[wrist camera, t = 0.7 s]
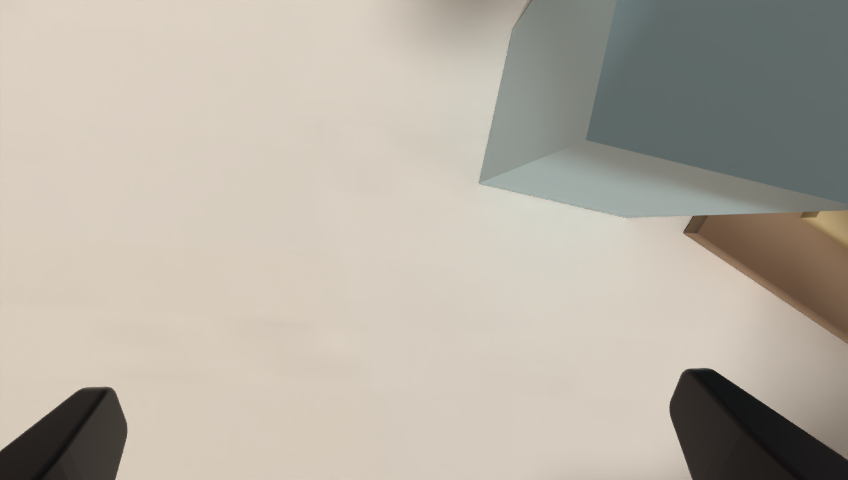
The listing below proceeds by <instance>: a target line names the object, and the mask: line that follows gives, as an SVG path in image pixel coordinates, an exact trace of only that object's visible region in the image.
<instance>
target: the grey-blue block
mask: <svg viewBox="0 0 848 480" xmlns="http://www.w3.org/2000/svg"><path fill="white" fill-rule="evenodd" d="M479 184H483V185H487V186H491V187H496V188H500V189H504V190H508V191H513V192H517V193H521V194H526V195H530V196H534V197H539V198H543V199H547V200H552V201H556V202H560V203H564V204H569V205H573V206H577V207H582V208H586V209H590V210H595V211H599V212H603V213H608V214H612V215H616V216H620V217H625V218H639V217H668V216H698V215H727V214H756V213H786V212H815V211H844V210H848V0H533V1H532V2H531V3H530V5H529V6H528V8H527V9H526V10H525V12H524V13H523V15H522V16H521V18H520V19H519V20H518V22H517V23H516V25H515V26H514V27H513V29H512V34H511V38H510V43H509V47H508V52H507V56H506V61H505V66H504V70H503V75H502V79H501V84H500V88H499V93H498V97H497V102H496V107H495V111H494V116H493V120H492V125H491V129H490V134H489V138H488V143H487V147H486V152H485V157H484V161H483V166H482V170H481V175H480V179H479Z"/></svg>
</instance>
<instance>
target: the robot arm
mask: <svg viewBox="0 0 848 480" xmlns="http://www.w3.org/2000/svg"><path fill="white" fill-rule="evenodd" d="M669 408H670V416H671V420H672V422H673V425H674V428H675V431H676V434H677V437H678V440H679V442H680V445H681V448H682V451H683V454H684V457H685V460H686V462H687V465H688V468H689V471H690V474H691V477H692V480H848V460H847V459H845V458H844V457H843V456H841V455H840V454H838V453H837V452H835V451H834V450H832V449H831V448H829V447H828V446H826V445H825V444H823V443H822V442H820V441H819V440H817V439H816V438H814V437H813V436H811V435H810V434H808V433H807V432H805V431H804V430H802V429H801V428H799V427H798V426H796V425H795V424H793V423H792V422H790V421H789V420H787V419H786V418H784V417H783V416H781V415H780V414H778V413H777V412H775V411H774V410H772V409H771V408H769V407H768V406H766V405H765V404H763V403H762V402H761V401H759V400H758V399H756V398H755V397H753V396H752V395H750V394H749V393H747V392H746V391H744V390H743V389H741V388H740V387H738V386H737V385H735V384H734V383H732V382H731V381H729V380H728V379H726V378H725V377H723V376H722V375H720V374H719V373H717V372H716V371H714V370H712V369H708V368H698V369H686V370H685V371H684V372H683V373H682V374H681V377H680V379H679V381H678V384H677V386H676V389H675V391H674V394H673V396H672V398H671V401H670V407H669ZM126 438H127V422H126V419H125V416H124V414H123V411H122V408H121V406H120V403H119V400H118V397H117V395H116V393H115V391H114V390H113V389H112V388H110V387H88V388H82V389H80V390H78V391H77V392H75V393H74V394H73V395H72V396H70V397H69V398H68V399H66V400H65V401H64V402H63V403H61V404H60V405H59V406H57V407H56V408H55V409H54V410H52V411H51V412H50V413H48V414H47V415H46V416H45V417H43V418H42V419H41V420H39V421H38V422H37V423H36V424H34V425H33V426H32V427H30V428H29V429H28V430H27V431H25V432H24V433H23V434H22V435H20V436H19V437H18V438H16V439H15V440H14V441H13V442H11V443H10V444H9V445H7V446H6V447H5V448H4V449H2V450H1V451H0V480H115V479H116V475H117V471H118V468H119V464H120V460H121V457H122V453H123V449H124V446H125V442H126Z"/></svg>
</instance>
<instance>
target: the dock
mask: <svg viewBox="0 0 848 480" xmlns="http://www.w3.org/2000/svg"><path fill="white" fill-rule="evenodd" d="M684 234H685V235H687V236H688V237H690V238H691V239H693V240H694V241H696V242H697V243H699V244H700V245H702V246H703V247H705V248H706V249H708V250H709V251H711V252H712V253H714V254H715V255H717V256H718V257H720V258H721V259H723V260H724V261H726V262H727V263H729V264H730V265H732V266H733V267H734V268H736V269H737V270H739V271H740V272H742V273H743V274H745V275H746V276H748V277H749V278H751V279H752V280H754V281H755V282H757V283H758V284H760V285H761V286H763V287H764V288H766V289H767V290H769V291H770V292H772V293H773V294H775V295H776V296H778V297H779V298H781V299H782V300H784V301H785V302H787V303H788V304H790V305H791V306H793V307H794V308H796V309H797V310H799V311H800V312H802V313H803V314H805V315H806V316H808V317H809V318H810V319H812V320H813V321H815V322H816V323H818V324H819V325H821V326H822V327H824V328H825V329H827V330H828V331H830V332H831V333H833V334H834V335H836V336H837V337H839V338H840V339H842V340H843V341H845V342H846V343H848V210H844V211H815V212H786V213H756V214H727V215H698V216H693V218H692V220H691V221H690V223H689V225H688V226H687V228H686V229H685V231H684Z"/></svg>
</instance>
